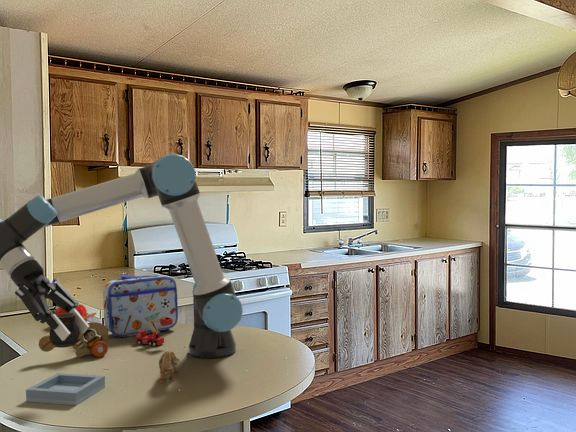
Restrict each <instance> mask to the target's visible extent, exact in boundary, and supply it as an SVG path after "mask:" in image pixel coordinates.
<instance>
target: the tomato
mask: <svg viewBox="0 0 576 432" xmlns="http://www.w3.org/2000/svg"><path fill="white" fill-rule="evenodd" d="M76 309H77V311H78V312H79V313H80V315H82V317H85V316H87V315H88V310H87V309H86V306H84V305H83V304H78V306H77V307H76ZM54 312H55V313H56V314H60V313H67V312H66V311H65V310H63V309H62V308H61V307H59V306H58V307H57V309H56V310H55V311H54Z"/></svg>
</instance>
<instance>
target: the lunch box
mask: <svg viewBox="0 0 576 432" xmlns="http://www.w3.org/2000/svg"><path fill="white" fill-rule="evenodd" d="M120 277H121V278H117V279H112V280H109V281H108V282H106V283H105V284H104V286H103V289H102V290H103V291H102V292H103V297H102V299H103V302H102V303H103V320H104V325H105V326H106V327H107V329H108V332H110V333H111V334H112V335H113V336H114V337H117V338H126V337H134V336H136V333H137V332H138V331H140V330H144V329H145V330H146V335H147V334H148V335H149V334H153V332H152V331H151V329H150V328H149V327H148V325H147V323H148V322H149V321H151V320H155V319H160V318H164V317H169V318H172V319H173V324H171V325H168V326H161V324H160V322H158V323H154V324H155V326H156V328H157V330H158V331H159V332H161V331H166V330H169V329H172V328H173V327H175V326H176V325H177V323H178V319H179V309H178V307H179V306H178V303H179V302H178V286H177V283H176V281H175V279H174V278H172V277H170V276H163V275H157V274H156V275H140V276H131V275H126V274H120Z"/></svg>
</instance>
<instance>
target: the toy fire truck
mask: <svg viewBox="0 0 576 432" xmlns="http://www.w3.org/2000/svg"><path fill="white" fill-rule="evenodd" d="M158 322H160V324H161V326H168V325H171V324H173V319H172V318H169V317H164V318H160V319H155V320H151V321H149V322H148V323H147V325H148V327H149V328H150V329H151V331H152V332H153V333H149V334H148V335H147V334H146V330H145V329H144V330H140V331H138V332H137V333H136V335H135V343H136V344H138V345H143V344H144V345H148V346H153V347H156V346H160V345H162V344H164V343H165V337H162V336H161V331H158V330H157V328H156V326H155V324H154V323H158Z"/></svg>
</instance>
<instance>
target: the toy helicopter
mask: <svg viewBox="0 0 576 432" xmlns="http://www.w3.org/2000/svg"><path fill="white" fill-rule="evenodd" d="M96 315H97V312H93V313H89V314H87V316H85V317H83V319H84V320H85V321H86V322H87V324H88V325H89V328H88V329H87V330H86V331H85V332H84V333H81V332H80V335H79V338H78V341H77V343H76V344H75V345H74V346H71V347H72V348H73V349H74V350H75V356H76V357H77V358H78V359H79V358H82V357H84V356H85V355H94V356H95V357H97V358H101V357H103V356H105V355H106V354H107V353H108V350H109V348H108V344H107V342H108V339H109V331H108V329H107V327H106V326H105V324H103V323H102V322H98V321H91V322H89V321H88V319H89V318H92V317H94V316H96ZM38 347H39V349H40V351H42V352H50V351H53V350H54V349H56V347H55V346H54V345H53V344H52V343H51V340H50V337H49V335H47V334H45V335H43V336H42V337H41V338H39V340H38Z"/></svg>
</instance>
